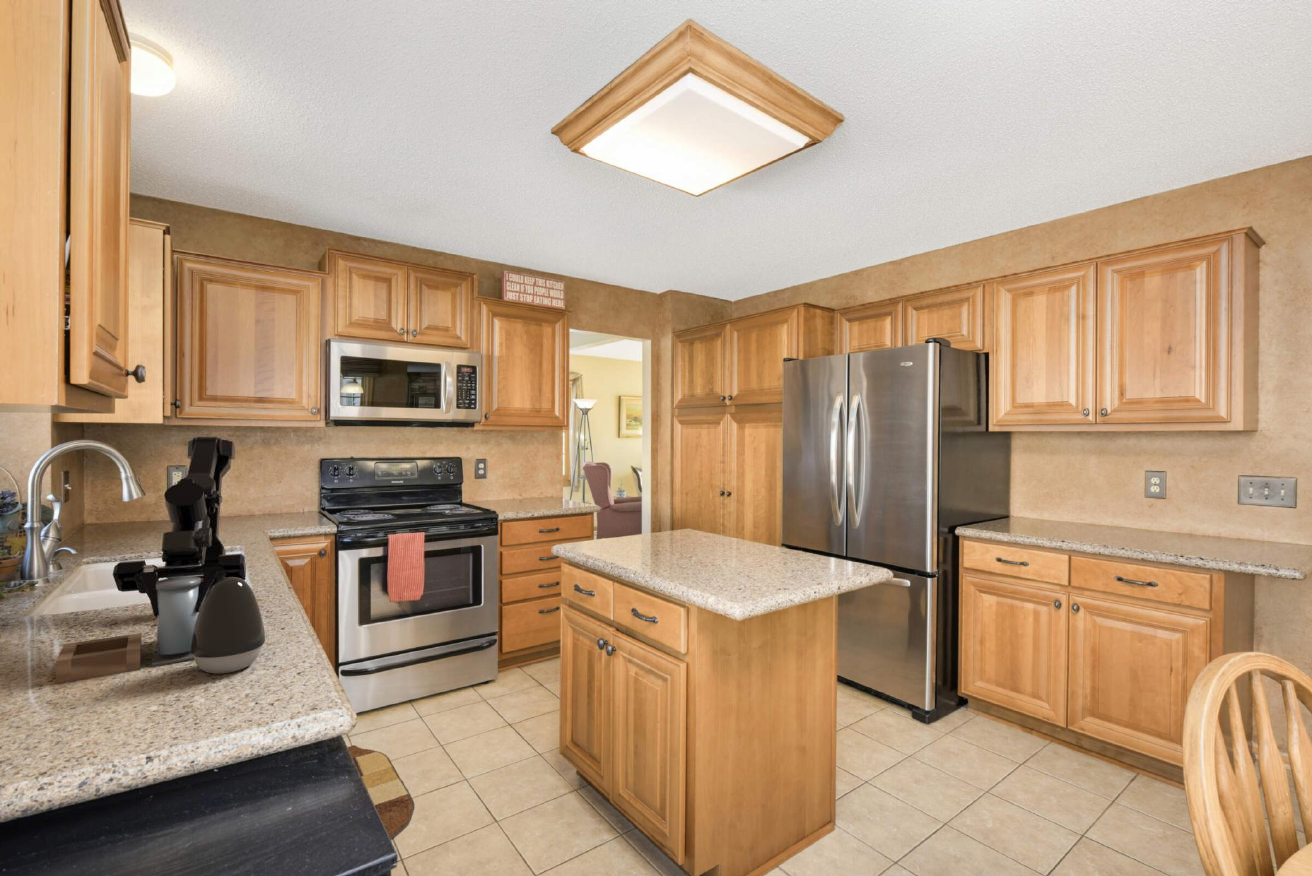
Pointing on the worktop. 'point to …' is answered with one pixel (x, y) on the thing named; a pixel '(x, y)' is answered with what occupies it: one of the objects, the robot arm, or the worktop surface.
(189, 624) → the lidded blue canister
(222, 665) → the dark egg-shaped device
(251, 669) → the worktop surface
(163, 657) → the rubber mat
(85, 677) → the block
